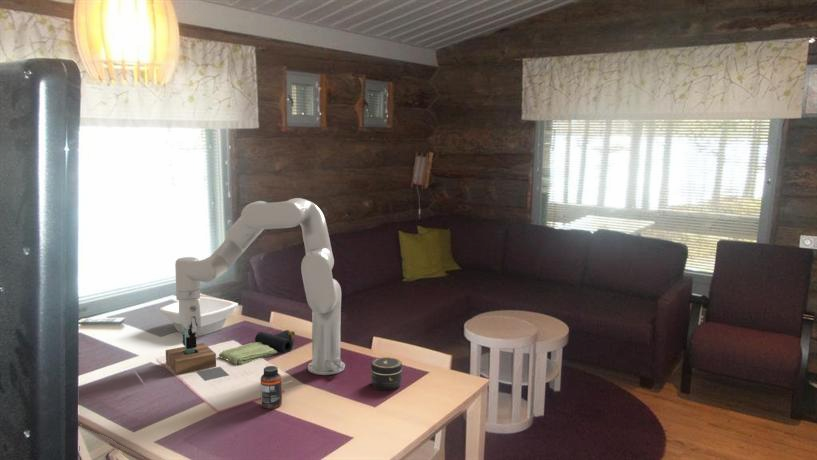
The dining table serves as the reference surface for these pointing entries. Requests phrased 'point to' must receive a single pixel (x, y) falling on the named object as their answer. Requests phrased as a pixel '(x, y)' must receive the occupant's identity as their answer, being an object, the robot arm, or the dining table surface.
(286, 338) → the pipe connector
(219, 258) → the robot arm
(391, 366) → the jar
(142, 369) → the dining table surface
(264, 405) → the supplement bottle
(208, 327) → the bowl
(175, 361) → the hole block
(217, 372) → the mat
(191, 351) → the peg
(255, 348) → the washcloth
